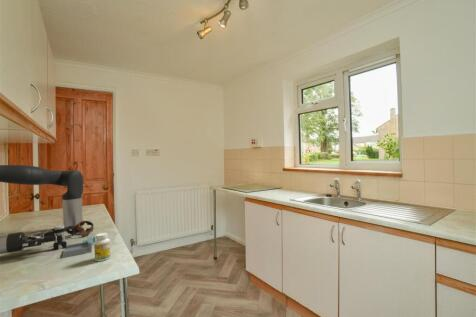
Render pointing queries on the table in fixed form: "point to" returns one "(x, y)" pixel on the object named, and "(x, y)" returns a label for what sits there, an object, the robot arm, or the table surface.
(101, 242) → the supplement bottle
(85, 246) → the tray
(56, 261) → the table surface
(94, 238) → the clip
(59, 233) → the push button
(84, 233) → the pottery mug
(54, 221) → the table surface
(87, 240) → the clip
